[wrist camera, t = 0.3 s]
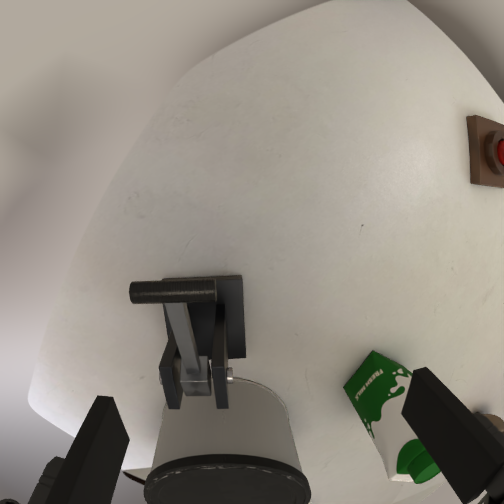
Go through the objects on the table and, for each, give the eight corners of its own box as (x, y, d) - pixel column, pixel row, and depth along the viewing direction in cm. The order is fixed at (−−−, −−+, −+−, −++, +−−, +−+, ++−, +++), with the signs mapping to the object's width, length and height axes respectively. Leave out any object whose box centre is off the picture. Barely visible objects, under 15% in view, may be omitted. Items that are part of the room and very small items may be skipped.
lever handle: (133, 271, 17) (125, 299, 15) (215, 267, 18) (214, 296, 16) (171, 373, 25) (169, 396, 23) (227, 371, 25) (228, 395, 23)
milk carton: (372, 342, 37) (453, 438, 18) (409, 362, 39) (484, 444, 19) (334, 390, 39) (387, 497, 19) (374, 405, 40) (431, 495, 21)
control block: (466, 116, 32) (484, 113, 28) (499, 127, 32) (516, 126, 28) (470, 183, 34) (489, 184, 30) (503, 188, 34) (520, 189, 30)
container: (262, 356, 36) (280, 443, 22) (304, 440, 41) (327, 513, 26) (137, 396, 37) (109, 476, 22) (199, 469, 41) (196, 539, 26)
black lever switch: (162, 278, 33) (126, 334, 20) (241, 275, 34) (250, 331, 20) (173, 354, 35) (152, 430, 22) (245, 351, 36) (254, 430, 23)
